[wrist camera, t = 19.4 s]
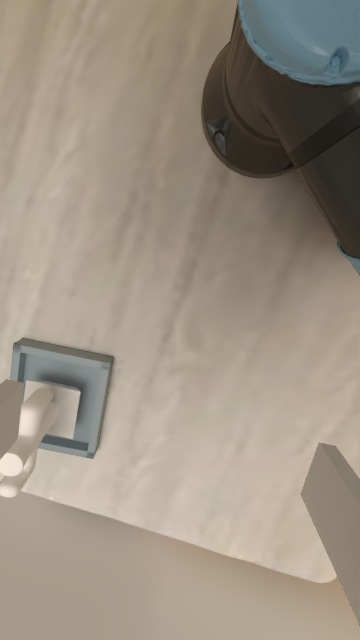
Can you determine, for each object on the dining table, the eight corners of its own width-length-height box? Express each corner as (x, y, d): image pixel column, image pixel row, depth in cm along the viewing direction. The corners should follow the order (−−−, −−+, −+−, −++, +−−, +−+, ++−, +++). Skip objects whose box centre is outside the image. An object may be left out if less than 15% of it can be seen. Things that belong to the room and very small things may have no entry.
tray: (22, 338, 47) (13, 343, 45) (113, 357, 47) (109, 363, 45) (12, 431, 50) (3, 441, 48) (97, 448, 51) (93, 458, 49)
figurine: (89, 373, 47) (47, 432, 33) (79, 431, 50) (35, 511, 35) (39, 362, 47) (-27, 417, 33) (31, 421, 49) (-34, 497, 35)
